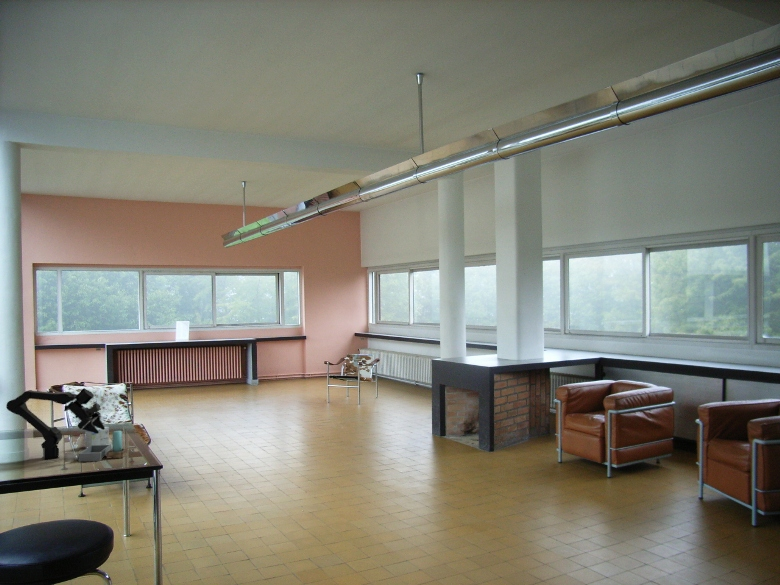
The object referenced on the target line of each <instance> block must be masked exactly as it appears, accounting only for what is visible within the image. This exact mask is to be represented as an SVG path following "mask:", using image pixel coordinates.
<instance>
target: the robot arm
mask: <svg viewBox="0 0 780 585" xmlns="http://www.w3.org/2000/svg"><path fill="white" fill-rule="evenodd" d="M94 397H95V394H94V393H93V392H92V391H90V390H88V389H86V387H84V388H81V390H80V391H79V392H78V393H77V394H75V393H72V392H71V391H62V392H61V391H60V392H49V391H48V392H47V391H39V390H32V389H29V390H26V391H24V392H23V393H22V394H20V395H18V396H17V397H15V398H14V399H11V400H9V401H7V402H6V410H7V411H9V412H11V413H13V415H14V414H15V415H17V416H20V417H21V418H23V419H24V421H26V422H27V423H28V424H29V425H31V426H32V427H33V428H34V429H35V430H37V431H38V433H40V434H41V436H42V438H43V439H44V441H43V442H42V443H41V444H40V446H41V448H42V457H41V458H42V459H43V460H44V461H48V459H49V460H55V459H58V458H59V456H60V450H59V449H60V448H59V446H58V445H59V443H60V442H61V440H62V439H63V433H62V430H60V429H58V428H57V427H56V426H53V427H50V426H49V425H47V423H46V422H44V421H43V420H42V419H41V418H40V417H38V416H37V415H36V414H34V413H33V412H32V411H31V410H30V409H29V408H28V406H27V404H26V403H27V402H28V401H29V400H39V401H40V400H41V401H48V402H50V401H51V402H54V403H56V404H59V405H64V410H63V411H64V412H67V411H70V412H71V413H72V414H74V417H75V418H76V419H77V418H78V419H79V420H80V422H79V423H78V424H77V428H78V429H79V430H84V431H85V430H87V431H90V432H94V433H97V434H98V433H99V431H98V430H97V429H96V428H95V427H98V428H100V429H103V430H104V429H105V427H104V426H105V425H104V424H103V422H102V421H101V420H102V419H101V416H102V415H101V414H102V413H101V412H100V411H101V410H102V408H101V404H98V403H93V404H92V406H91V407H90V408H89V407H85V406H84V405H87V403H89V402H90V401H91V400H92V399H93V398H94Z"/></svg>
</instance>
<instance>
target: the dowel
mask: <svg viewBox="0 0 780 585" xmlns="http://www.w3.org/2000/svg"><path fill="white" fill-rule="evenodd" d="M122 435H123V432H122V430H114V431H112V449H113V452H122V448H123V447H122V446H123V443H122V442H123V438H122V437H123V436H122Z"/></svg>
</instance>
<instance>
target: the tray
mask: <svg viewBox="0 0 780 585" xmlns="http://www.w3.org/2000/svg"><path fill="white" fill-rule="evenodd" d="M111 449H112V444H109V445H91V446H89V447H88V448H86V447H85V448H84V450H82V451H80V452H79V453H78V462H79V461H80V462H100V461H102V460H103V459H104V458H105V457H104V456H106V455H107V452H108V451H109V450H111ZM103 457H104V458H103ZM106 457H107V456H106ZM102 458H103V459H102Z"/></svg>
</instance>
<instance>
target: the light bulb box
mask: <svg viewBox="0 0 780 585" xmlns="http://www.w3.org/2000/svg"><path fill="white" fill-rule="evenodd" d="M103 426H104V427H105V429H104V430H103V429H100V428H98V427H96V426H95V428H96V429H97V430H98V431H99V433H98V434H97V433H94V432H90V431H87V430H84V434H85V435H84V438H85V439H84V440H85V442H84V443H85V444H84V445H85V448H86V447H89V446H91V445H106V444H109V445H110V434H109V433H110V427H109V426H105V425H103Z"/></svg>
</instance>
